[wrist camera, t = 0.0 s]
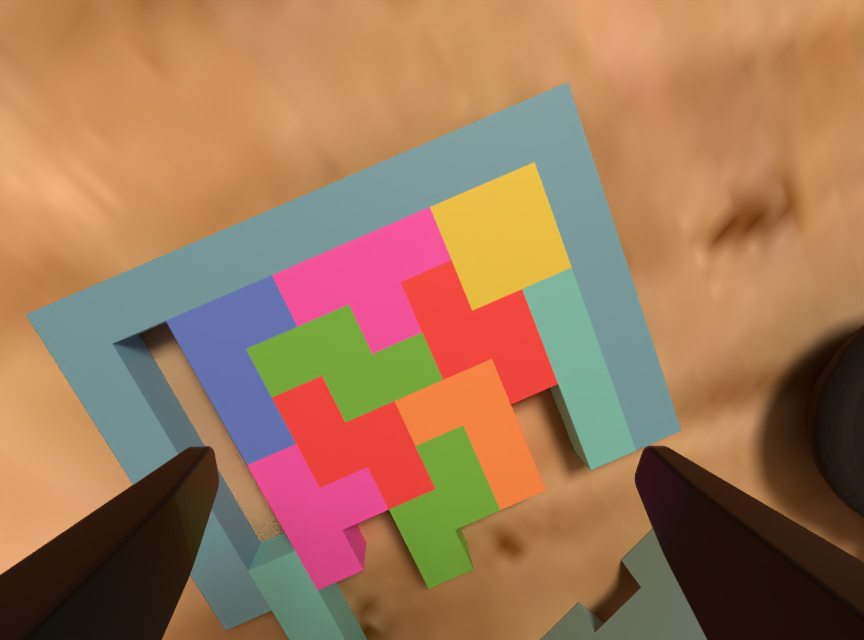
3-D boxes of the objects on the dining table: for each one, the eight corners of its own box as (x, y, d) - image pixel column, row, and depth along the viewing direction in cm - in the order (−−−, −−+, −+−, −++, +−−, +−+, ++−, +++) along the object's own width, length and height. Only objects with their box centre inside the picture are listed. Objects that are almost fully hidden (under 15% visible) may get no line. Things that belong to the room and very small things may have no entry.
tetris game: (70, 306, 23) (303, 689, 28) (25, 314, 20) (293, 737, 26) (547, 101, 23) (688, 519, 29) (568, 81, 20) (719, 548, 26)
